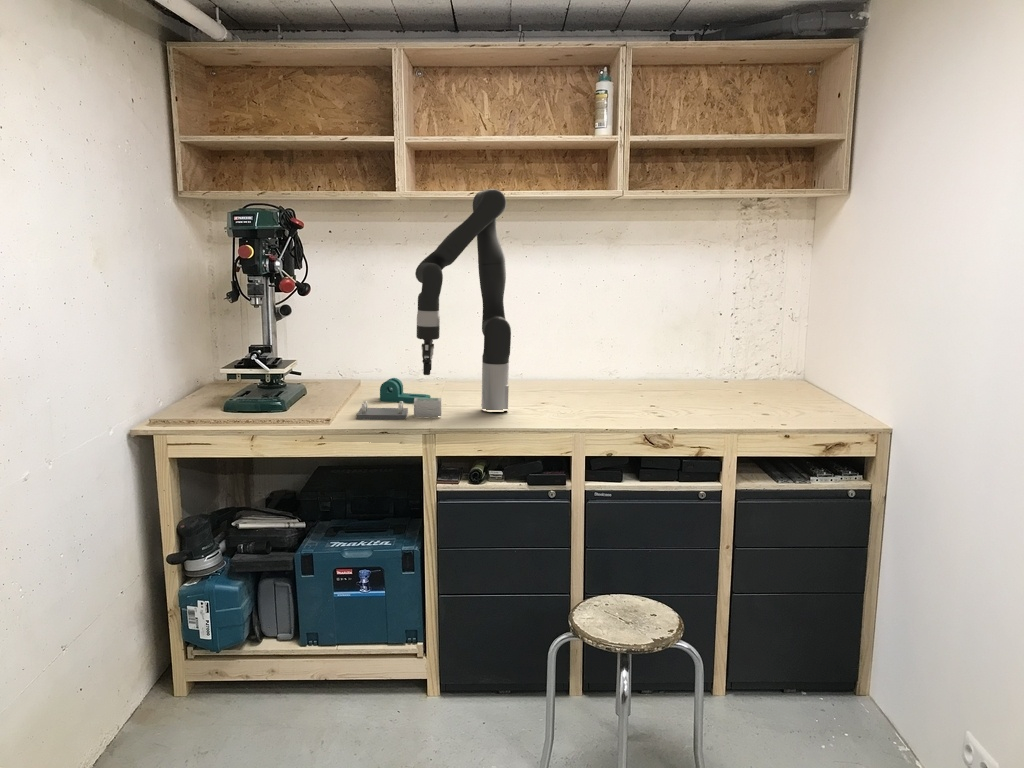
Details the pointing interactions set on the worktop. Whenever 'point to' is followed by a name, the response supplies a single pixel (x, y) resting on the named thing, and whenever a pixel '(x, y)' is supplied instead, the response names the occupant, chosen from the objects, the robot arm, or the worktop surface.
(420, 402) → the block
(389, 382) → the bracket
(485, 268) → the robot arm
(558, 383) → the worktop surface
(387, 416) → the grey wall plate
